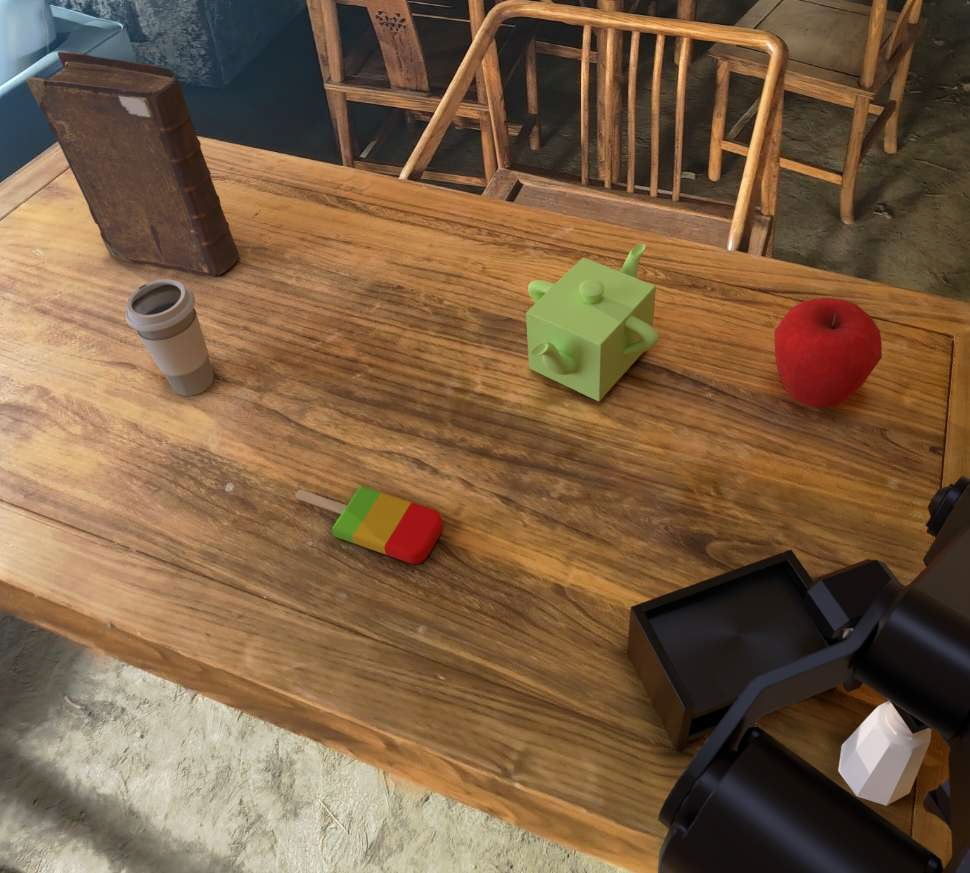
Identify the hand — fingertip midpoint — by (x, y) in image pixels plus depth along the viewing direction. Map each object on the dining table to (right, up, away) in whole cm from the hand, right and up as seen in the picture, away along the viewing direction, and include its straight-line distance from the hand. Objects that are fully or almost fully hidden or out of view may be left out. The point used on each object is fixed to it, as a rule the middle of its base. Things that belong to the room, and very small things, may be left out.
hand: (889, 744), depth 66 cm
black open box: (-9, +3, +10) cm, 13 cm away
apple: (+5, +26, +29) cm, 39 cm away
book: (-68, +44, +52) cm, 96 cm away
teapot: (-17, +30, +34) cm, 48 cm away
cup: (-61, +28, +37) cm, 76 cm away
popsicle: (-40, +14, +22) cm, 48 cm away
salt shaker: (0, -3, +4) cm, 5 cm away
